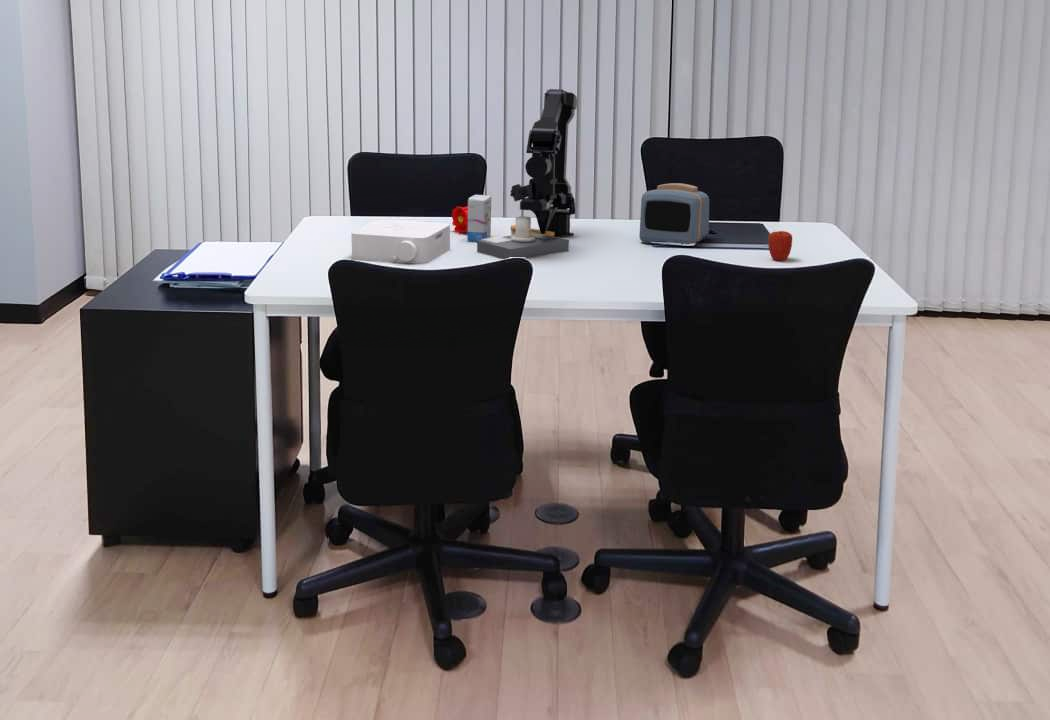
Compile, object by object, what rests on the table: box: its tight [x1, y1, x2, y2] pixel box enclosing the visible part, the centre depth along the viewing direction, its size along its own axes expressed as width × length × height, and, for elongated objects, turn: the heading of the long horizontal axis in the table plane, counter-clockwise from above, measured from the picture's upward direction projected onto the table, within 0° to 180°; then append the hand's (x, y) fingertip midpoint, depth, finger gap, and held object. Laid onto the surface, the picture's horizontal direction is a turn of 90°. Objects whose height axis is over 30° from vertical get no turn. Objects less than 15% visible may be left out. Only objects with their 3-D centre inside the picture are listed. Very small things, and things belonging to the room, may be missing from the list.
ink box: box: [467, 194, 492, 243], centre depth 376 cm, size 9×5×12 cm, turn 168°
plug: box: [511, 216, 535, 243], centre depth 361 cm, size 6×6×9 cm
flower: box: [451, 205, 468, 234], centre depth 387 cm, size 8×8×8 cm
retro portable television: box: [639, 182, 710, 245], centre depth 375 cm, size 16×16×16 cm
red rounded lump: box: [767, 230, 793, 262], centre depth 354 cm, size 6×6×8 cm
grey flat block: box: [476, 229, 570, 260], centre depth 362 cm, size 20×15×4 cm
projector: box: [350, 219, 451, 265], centre depth 358 cm, size 21×22×7 cm
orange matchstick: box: [510, 224, 554, 236], centre depth 365 cm, size 14×2×1 cm, turn 51°
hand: (542, 233), depth 361 cm, fingers closed
